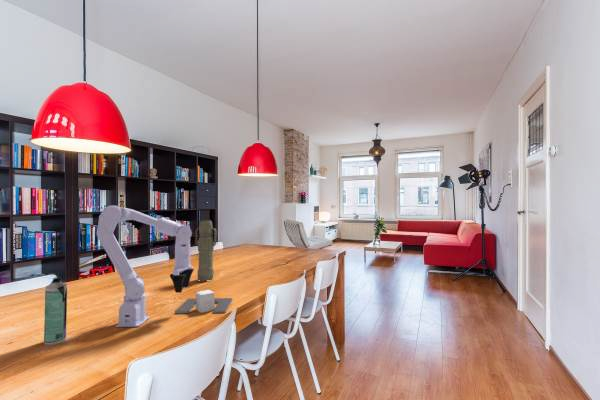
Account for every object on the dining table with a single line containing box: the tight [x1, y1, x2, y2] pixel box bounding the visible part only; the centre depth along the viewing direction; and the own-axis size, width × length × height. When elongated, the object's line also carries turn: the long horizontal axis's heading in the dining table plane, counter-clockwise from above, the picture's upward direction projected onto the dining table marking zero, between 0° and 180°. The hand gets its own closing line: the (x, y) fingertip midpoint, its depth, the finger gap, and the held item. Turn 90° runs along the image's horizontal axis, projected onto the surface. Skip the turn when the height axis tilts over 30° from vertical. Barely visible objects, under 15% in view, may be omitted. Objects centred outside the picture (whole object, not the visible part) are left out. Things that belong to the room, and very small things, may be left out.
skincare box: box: [195, 289, 216, 314], centre depth 129 cm, size 6×6×7 cm
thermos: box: [194, 219, 217, 281], centre depth 181 cm, size 9×12×35 cm
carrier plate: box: [174, 297, 233, 315], centre depth 133 cm, size 17×20×4 cm
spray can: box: [43, 276, 68, 346], centre depth 98 cm, size 6×6×20 cm
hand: (182, 289), depth 123 cm, fingers open, 7 cm apart
